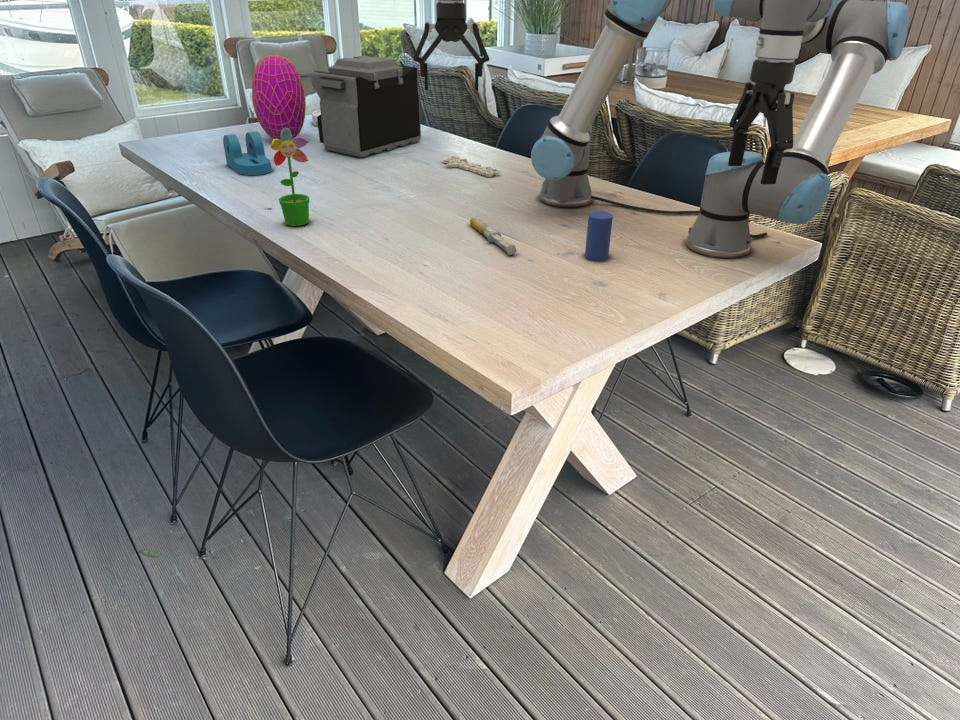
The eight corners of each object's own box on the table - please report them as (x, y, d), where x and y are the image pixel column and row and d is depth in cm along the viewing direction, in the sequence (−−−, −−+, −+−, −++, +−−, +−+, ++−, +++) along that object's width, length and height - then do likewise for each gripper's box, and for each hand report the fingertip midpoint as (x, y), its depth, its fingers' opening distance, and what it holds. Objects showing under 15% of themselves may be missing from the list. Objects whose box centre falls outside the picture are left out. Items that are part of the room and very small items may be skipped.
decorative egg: (293, 132, 276) (283, 50, 261) (319, 140, 264) (310, 56, 249) (249, 139, 265) (236, 54, 250) (273, 148, 253) (261, 60, 238)
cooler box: (383, 133, 276) (378, 52, 261) (425, 141, 265) (422, 56, 250) (314, 150, 251) (304, 61, 235) (358, 160, 240) (350, 67, 224)
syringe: (466, 223, 184) (466, 213, 183) (479, 221, 185) (479, 212, 184) (502, 257, 164) (503, 246, 163) (517, 255, 165) (517, 244, 164)
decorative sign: (432, 159, 238) (454, 155, 243) (432, 162, 238) (454, 157, 244) (482, 176, 221) (505, 170, 226) (482, 179, 221) (505, 173, 227)
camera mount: (227, 164, 233) (221, 132, 227) (257, 160, 238) (252, 129, 233) (244, 176, 220) (239, 143, 215) (276, 172, 225) (271, 139, 220)
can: (603, 252, 168) (608, 210, 163) (611, 260, 163) (616, 218, 158) (581, 253, 167) (585, 211, 162) (588, 262, 162) (593, 219, 157)
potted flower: (284, 229, 179) (270, 130, 166) (277, 220, 185) (263, 124, 172) (319, 224, 183) (308, 127, 170) (311, 215, 188) (300, 121, 176)
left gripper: (401, 2, 172) (405, 91, 183) (500, 3, 173) (498, 92, 184) (402, 0, 178) (406, 87, 189) (498, 1, 180) (496, 87, 191)
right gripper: (725, 52, 137) (705, 159, 148) (793, 68, 116) (764, 192, 127) (760, 52, 138) (738, 158, 149) (833, 68, 117) (802, 191, 128)
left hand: (451, 89), depth 187 cm, fingers open, 13 cm apart
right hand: (750, 174), depth 138 cm, fingers open, 13 cm apart
